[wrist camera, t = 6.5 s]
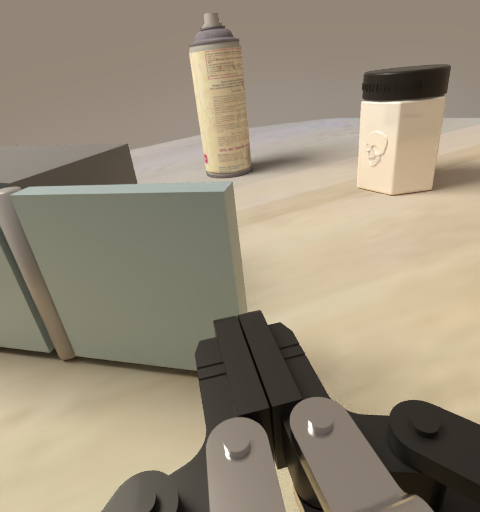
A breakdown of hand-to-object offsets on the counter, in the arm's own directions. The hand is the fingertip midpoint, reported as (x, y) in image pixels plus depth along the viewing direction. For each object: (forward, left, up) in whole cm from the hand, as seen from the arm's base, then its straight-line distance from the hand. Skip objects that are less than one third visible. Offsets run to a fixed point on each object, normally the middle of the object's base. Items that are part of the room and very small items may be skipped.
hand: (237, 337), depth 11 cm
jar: (+24, -28, -7) cm, 38 cm away
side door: (+11, +7, -6) cm, 14 cm away
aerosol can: (+43, -14, -7) cm, 46 cm away
